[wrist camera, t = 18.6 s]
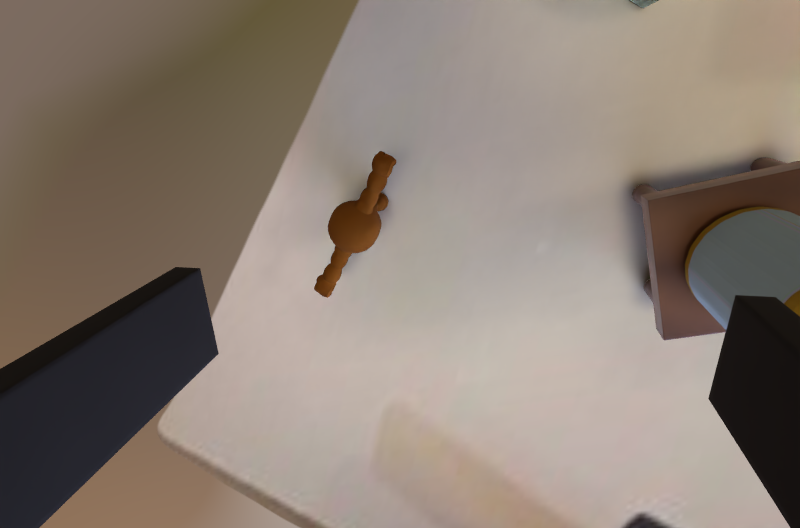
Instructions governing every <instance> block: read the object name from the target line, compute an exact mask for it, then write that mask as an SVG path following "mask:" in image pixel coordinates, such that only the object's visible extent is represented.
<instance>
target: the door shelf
mask: <svg viewBox="0 0 800 528" xmlns="http://www.w3.org/2000/svg"><path fill="white" fill-rule="evenodd" d="M630 1H631V2H633V3H635V4H636V5H638V6H640V7H641V8H645V7H647V6H649V5H651V4H653V3H655V2H657V1H658V0H630Z"/></svg>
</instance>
